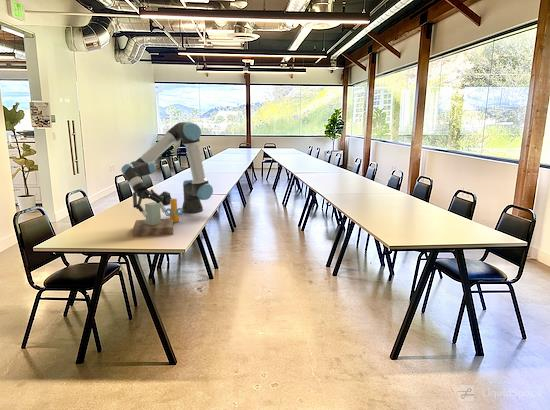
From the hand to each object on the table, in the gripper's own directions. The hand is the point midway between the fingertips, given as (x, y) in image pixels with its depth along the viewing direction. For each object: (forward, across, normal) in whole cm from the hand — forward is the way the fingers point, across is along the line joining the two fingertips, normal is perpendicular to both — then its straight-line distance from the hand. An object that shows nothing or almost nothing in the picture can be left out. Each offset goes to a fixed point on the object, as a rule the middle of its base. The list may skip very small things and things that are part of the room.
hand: (155, 213), depth 226 cm
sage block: (+3, 0, -6) cm, 7 cm away
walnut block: (+7, 0, -10) cm, 12 cm away
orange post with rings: (+1, -22, -15) cm, 27 cm away
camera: (-35, -56, -51) cm, 83 cm away
